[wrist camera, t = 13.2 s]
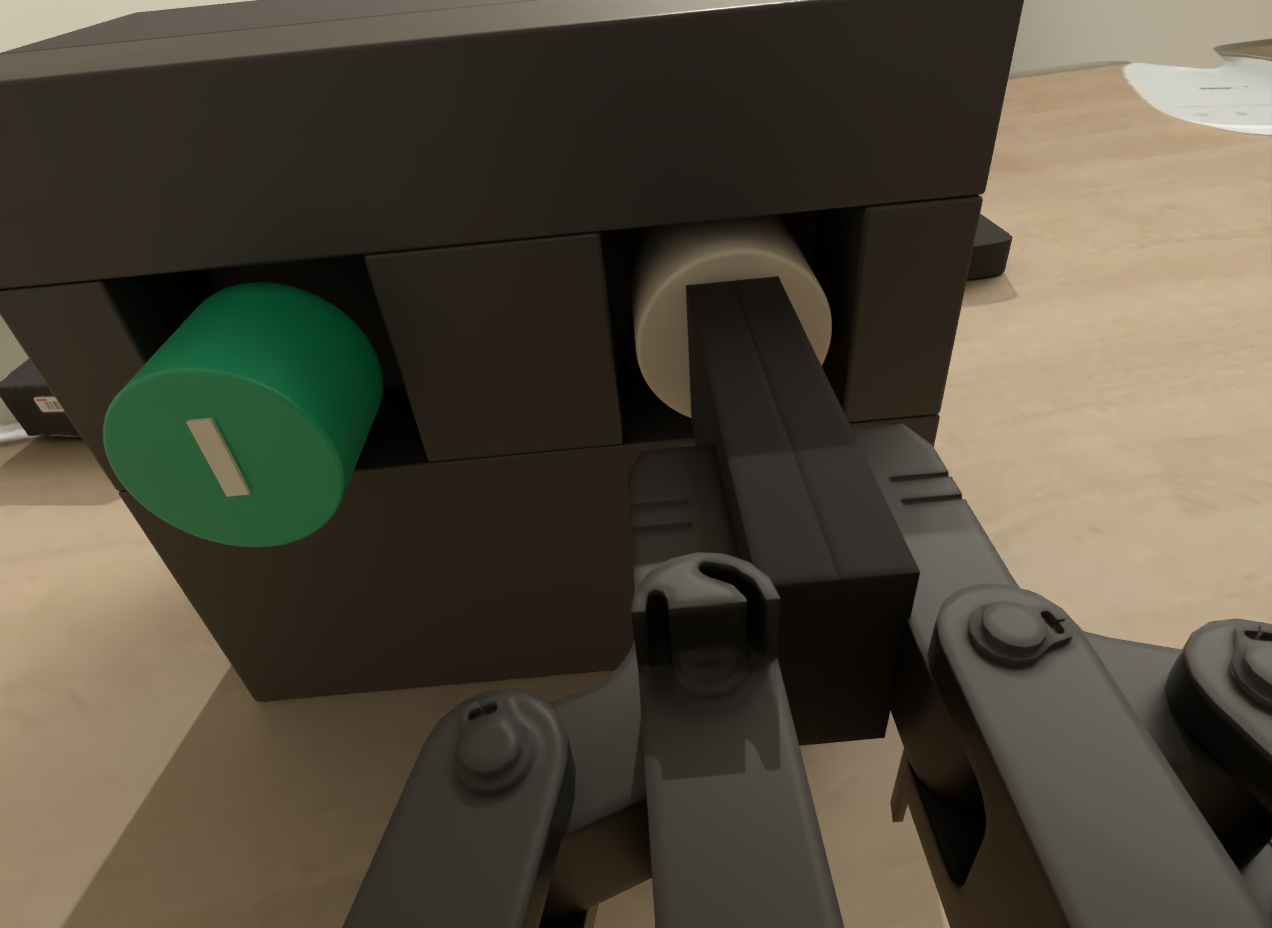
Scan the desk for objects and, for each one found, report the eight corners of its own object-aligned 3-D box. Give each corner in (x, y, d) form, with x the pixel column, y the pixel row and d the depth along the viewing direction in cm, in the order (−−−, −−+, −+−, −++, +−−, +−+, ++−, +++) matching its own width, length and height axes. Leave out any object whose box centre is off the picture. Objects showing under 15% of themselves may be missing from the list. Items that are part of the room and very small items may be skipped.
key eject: (825, 416, 14) (841, 239, 12) (644, 433, 14) (627, 260, 12) (792, 341, 16) (801, 181, 14) (636, 355, 16) (621, 198, 14)
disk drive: (282, 441, 28) (400, 270, 40) (253, 378, 27) (385, 218, 38) (29, 448, 29) (215, 280, 41) (-16, 388, 28) (192, 229, 39)
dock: (894, 645, 19) (1030, -23, 10) (255, 702, 19) (-148, 96, 10) (818, 451, 25) (861, -61, 16) (339, 495, 25) (134, 12, 17)
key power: (370, 541, 12) (296, 361, 10) (165, 561, 12) (48, 385, 10) (405, 435, 15) (351, 271, 13) (233, 451, 15) (149, 290, 13)
